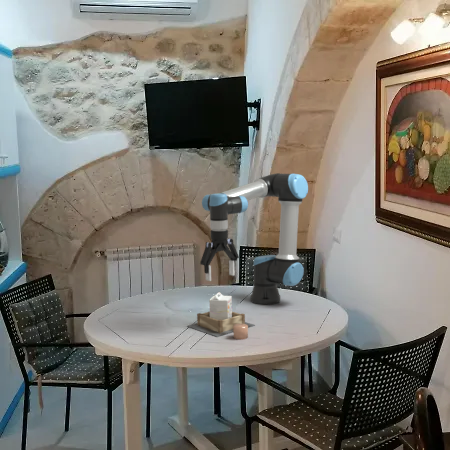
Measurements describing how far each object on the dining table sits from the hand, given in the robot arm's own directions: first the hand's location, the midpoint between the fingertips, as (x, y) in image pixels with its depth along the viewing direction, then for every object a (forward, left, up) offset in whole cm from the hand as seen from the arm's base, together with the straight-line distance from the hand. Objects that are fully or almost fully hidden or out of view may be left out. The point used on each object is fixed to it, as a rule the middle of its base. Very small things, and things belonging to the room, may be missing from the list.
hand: (220, 277), depth 264 cm
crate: (0, 0, -22) cm, 22 cm away
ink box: (0, 0, -21) cm, 21 cm away
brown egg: (+4, +17, -22) cm, 28 cm away
